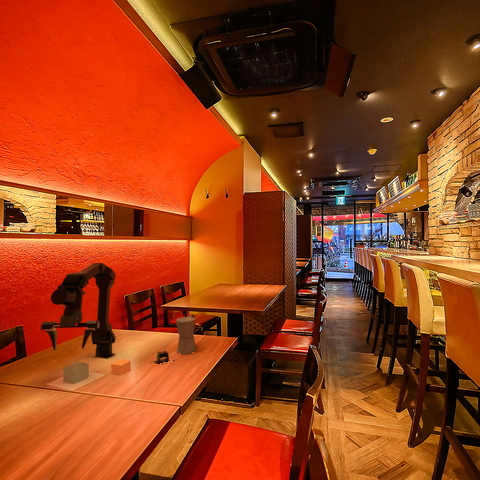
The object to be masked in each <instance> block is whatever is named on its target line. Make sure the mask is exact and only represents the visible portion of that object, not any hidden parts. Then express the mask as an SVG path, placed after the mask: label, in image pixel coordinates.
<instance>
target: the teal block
mask: <svg viewBox="0 0 480 480" xmlns="http://www.w3.org/2000/svg"><path fill="white" fill-rule="evenodd" d="M89 365H90V364H89V363H86V362H82V361H81V362H80V361H76V362H74V363H70V364H69V365H66V366H63V369H62V370H63V371H62V374H63V375H62V377H63V381H64V382H69V383H73V384H76V383H78V382H80V381H82V380H84V379H86V378H88V377H89V371H90V366H89Z"/></svg>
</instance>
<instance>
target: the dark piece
mask: <svg viewBox="0 0 480 480" xmlns="http://www.w3.org/2000/svg"><path fill="white" fill-rule="evenodd" d="M169 358H170V357H169V353H168V351H167V350H162V351H157V355H156V360H154V363H156V364H160V363H163V362H168V361H170V360H169Z"/></svg>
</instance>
